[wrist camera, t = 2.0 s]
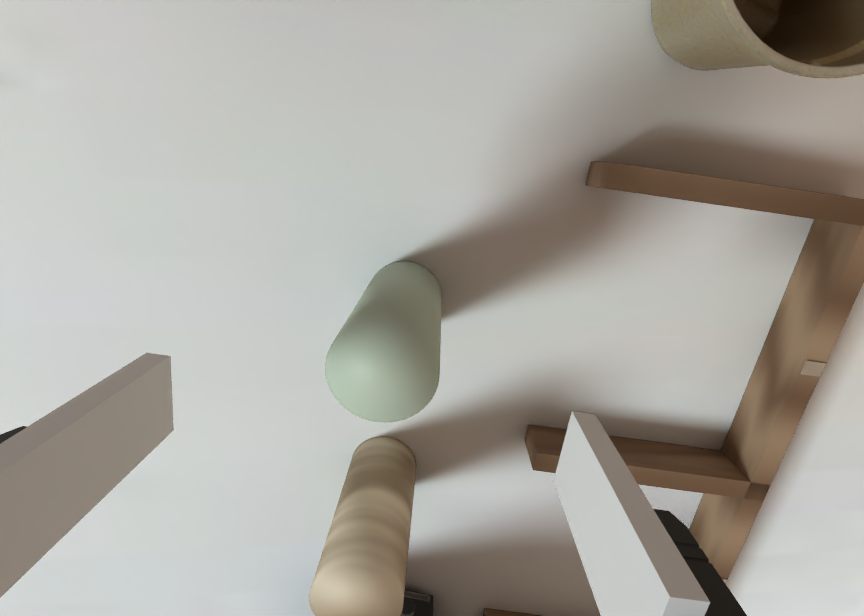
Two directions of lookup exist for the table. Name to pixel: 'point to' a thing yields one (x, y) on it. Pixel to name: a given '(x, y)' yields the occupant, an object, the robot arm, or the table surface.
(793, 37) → the flower pot
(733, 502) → the rack
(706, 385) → the table surface
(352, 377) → the sage post
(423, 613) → the camera
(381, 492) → the beech post
